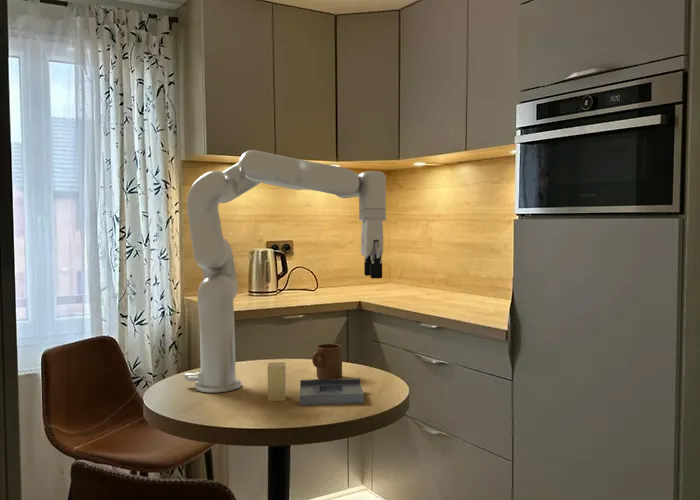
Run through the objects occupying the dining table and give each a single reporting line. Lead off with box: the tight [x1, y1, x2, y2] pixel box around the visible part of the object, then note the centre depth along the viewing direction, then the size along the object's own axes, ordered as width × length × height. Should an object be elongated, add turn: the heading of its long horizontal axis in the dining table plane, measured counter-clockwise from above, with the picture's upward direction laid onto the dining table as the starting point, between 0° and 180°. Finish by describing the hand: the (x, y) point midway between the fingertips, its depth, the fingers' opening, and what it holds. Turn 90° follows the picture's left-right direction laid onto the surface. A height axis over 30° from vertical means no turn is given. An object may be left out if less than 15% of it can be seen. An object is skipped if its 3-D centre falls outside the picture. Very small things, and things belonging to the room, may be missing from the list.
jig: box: [299, 377, 365, 406], centre depth 162 cm, size 16×12×4 cm
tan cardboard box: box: [267, 361, 287, 402], centre depth 163 cm, size 4×4×9 cm
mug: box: [311, 343, 343, 379], centre depth 182 cm, size 12×8×9 cm, turn 149°
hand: (373, 276), depth 175 cm, fingers open, 9 cm apart
